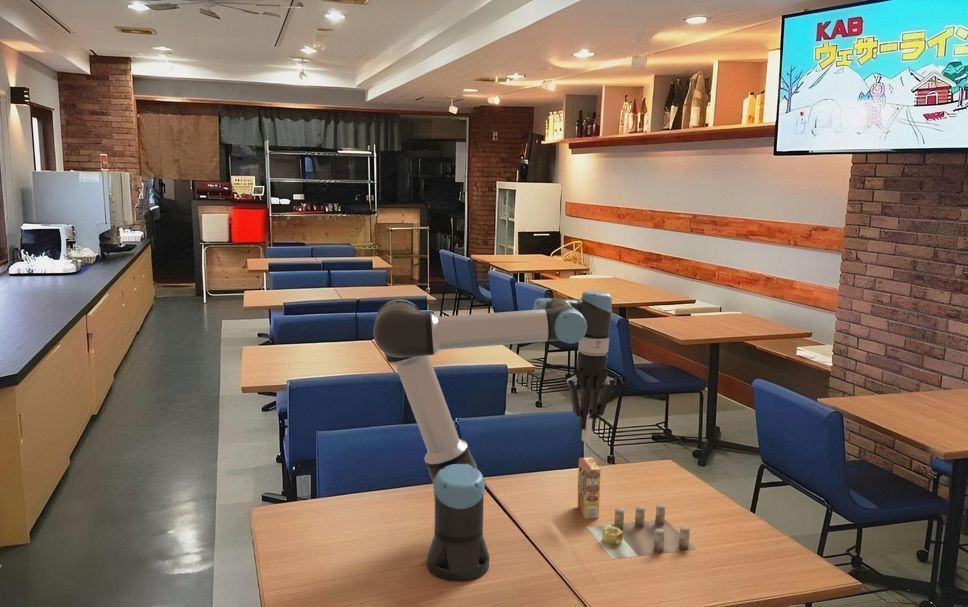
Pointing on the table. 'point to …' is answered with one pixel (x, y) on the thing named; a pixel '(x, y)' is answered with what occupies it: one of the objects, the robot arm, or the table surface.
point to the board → (644, 535)
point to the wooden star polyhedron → (612, 536)
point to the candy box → (588, 487)
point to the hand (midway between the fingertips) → (586, 441)
